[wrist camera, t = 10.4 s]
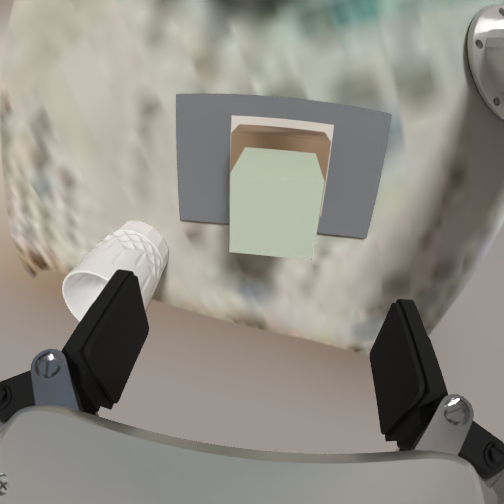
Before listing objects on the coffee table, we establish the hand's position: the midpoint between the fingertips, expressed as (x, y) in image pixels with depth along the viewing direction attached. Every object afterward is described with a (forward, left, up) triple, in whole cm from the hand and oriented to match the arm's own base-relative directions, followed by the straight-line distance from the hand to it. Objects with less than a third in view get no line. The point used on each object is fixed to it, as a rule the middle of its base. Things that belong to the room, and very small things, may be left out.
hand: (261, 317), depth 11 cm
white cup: (+14, +10, -18) cm, 25 cm away
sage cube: (0, 0, -14) cm, 14 cm away
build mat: (0, 0, -18) cm, 18 cm away
